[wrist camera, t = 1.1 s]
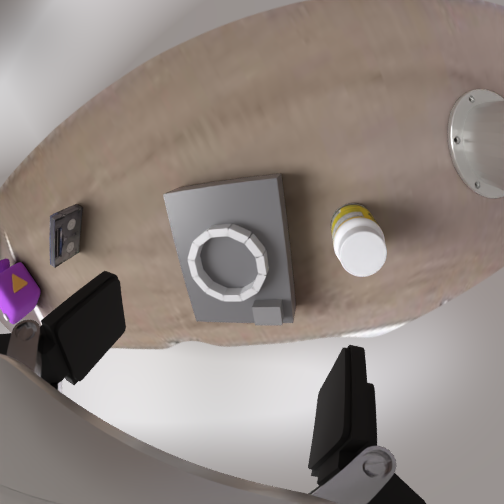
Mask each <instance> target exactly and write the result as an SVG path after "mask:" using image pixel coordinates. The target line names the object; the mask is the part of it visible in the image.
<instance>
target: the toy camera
mask: <svg viewBox="0 0 504 504" xmlns="http://www.w3.org/2000/svg"><path fill="white" fill-rule="evenodd" d="M39 296H40V289H39V287H38V285H37V284H36V282H35V281H34V279H33V278H32V276H31V275H30V273H29V272H28V270H27V269H26V267H25V266H24V265H23V264H22V263H21V262H19V263H16V264H14V265H13V266H11V267H10V261H9V259H3V260H1V261H0V309H1V310H2V312H3V313H4V318H5V319H6V321H9V322H10V323H12V324H15V323H17V322H18V321H20V320H21V319H22V318H23V317H24V316H26V315H27V314H28V313H29V312H31V311H32V310H33V309H34V308H35V306H36V304H37V302H38V299H39Z"/></svg>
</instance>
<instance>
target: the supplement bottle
mask: <svg viewBox="0 0 504 504" xmlns="http://www.w3.org/2000/svg"><path fill="white" fill-rule="evenodd" d="M331 232H332V238H333V246H334V250H335V253H336V255H337V257H338V259H339V260H340V261H341V264H342V266H343V267H344V269H345V270H346V271H347V272H349V273H350V274H352V275H355V276H359V277H364V276H369V275H372V274H374V273H376V272H377V271H378V270H379V269H380V268H381V267H382V266H383V264H384V262H385V260H386V256H387V249H386V245H385V238H384V234H383V232H382V230H381V228H380V227H379V225H378V224H377V222H376V221H375V219H374V218H373V216H372V215H371V213H370V212H369V211H368V210H367V209H366V208H365V207H364V206H362V205H359V204H354V203H351V204H346V205H343V206H341V207H340V208H339V209H338V210H337V211H336V212H335V213H334V215H333V217H332V220H331Z"/></svg>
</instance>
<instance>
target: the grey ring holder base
mask: <svg viewBox="0 0 504 504" xmlns="http://www.w3.org/2000/svg"><path fill="white" fill-rule="evenodd" d="M163 195H164V200H165V204H166V209H167V213H168V218H169V222H170V226H171V230H172V234H173V238H174V242H175V246H176V250H177V254H178V258H179V262H180V266H181V269H182V273H183V277H184V280H185V284H186V287H187V291H188V294H189V298H190V301H191V304H192V308H193V311H194V314H195V318H196V321H204V322H236V323H255V325H282V324H283V323H293V321H294V315H295V309H296V300H295V289H294V279H293V268H292V259H291V249H290V240H289V231H288V223H287V214H286V206H285V198H284V191H283V183H282V176H281V173H280V174H271V175H262V176H254V177H246V178H238V179H231V180H224V181H217V182H210V183H204V184H198V185H192V186H186V187H180V188H176V189H174V190H172V191H170V192H167V193H165V194H163Z"/></svg>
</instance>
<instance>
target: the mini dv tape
mask: <svg viewBox="0 0 504 504" xmlns="http://www.w3.org/2000/svg"><path fill="white" fill-rule="evenodd" d="M82 209H83V208H82V207H80V206H79V205H77V204H75V205H73V206H71V207H68V208H66V209H64V210H61V211H59V212H57V213H54V214H53V215H51V216H50V264H51V265H52V266H53V267H55V268H56V267H57V266H59V265H60V264H62V263H63V262H65V261H66V260H68V259H69V258H71V257H73V256H74V255H76V254H77V253H79V244H80V230H81V219H82Z"/></svg>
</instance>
